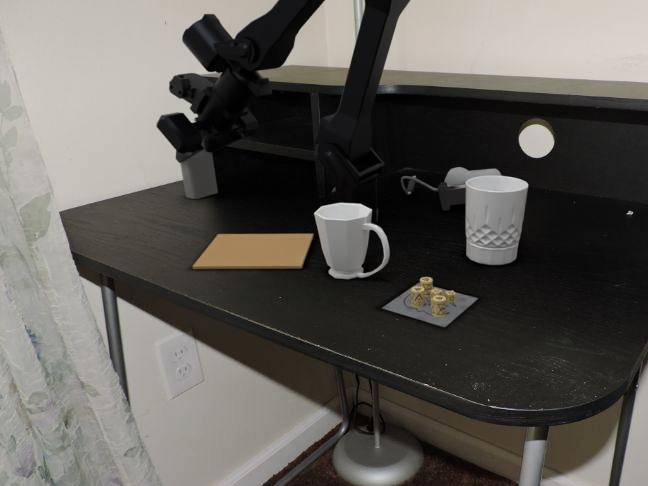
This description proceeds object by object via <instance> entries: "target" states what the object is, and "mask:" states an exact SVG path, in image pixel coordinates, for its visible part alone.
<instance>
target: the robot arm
mask: <svg viewBox="0 0 648 486" xmlns="http://www.w3.org/2000/svg"><path fill="white" fill-rule="evenodd" d="M325 1H326V0H277V1H276V2H275V4H274V5H273V7H272V8H271V9H269V10H268V11H267V12H265V13H264V14H262V15H261V16H259V17H257V18H255V19H254V20H251V21H250V22H249V23H248V24H247V25H245V26H244V27H243V28H242V29H241V30H239V31H238V32H237V33H236V35H235V37H234V38H233V37H232V35H231V34H230V33H229V32H228V31H227V29H226V28H225V27H224V26H223V25H222V23H221V21H220V20H219V18H218V16H217V15H216V14H215V13H204V14H203V16H202V18H200V19H198V20H196V21H194V23H192V24H191V25H190V26H189V27H188V28H185V30H184V31H183V34H182V35H181V36H182V38H181V40H182V43H183V45H184V46H185V47H186V48H187V49H188V50H189V52H190V53H191V54H192V55H193V56H194V58H195V59H196V60H197V61H198V62H199V64H200V65H201V66H202V67H203V68H204V69H205V71H206V72H207V73H216V74H220V75H219V77H218V78H217V80H216V81H215V83H213V82H211V81H210V80H209V79H207V78H205V77H203V76H202V75H200V74H199V73H197V72H196V73H195V72H187V73H178V74H175V75H174V76H172V78H171V80H169V81H168V84H169V86H168V91H169V93H170V94H172V95H173V96H174V97H176V98H177V99H179V100H184V102H185V101H186V102H187V103H188V104H190V107H189V110H190V111H191V112H192V113H193V114H194V115H197V117H194V118H193V120H194V122H191V120H190V119H189V118H188V117H187V115H186V114H185V113H184V112H176V111H175V112H171V113H167V114H166V113H165V114H161V115H160V116H159V118H158V120H157V122H156V125H155V127H156V128H157V129H158V131H159V132H160V133H161V134H162V135H163V137H164V138H165V139H166V140H167V141H168V142H169V143H170V145H171V146H172V147H173V149H174V150H175V160H176V161H177V162H178V163H179V164H180V163H181V162H183V161H185V160H187V159H189V158H190V157H192V156H194V155H195V154H197V153H199V152H200V151H202V150H204V147H203V146H202V145H201V144H202V141H203V140H204V142H205V149H206V152H211V153H212V154H213V153H214V152H217V151H219V150H221V149H223V148H224V147H227V146H230V145H231V144H233V143H236V142H238V141H241V140H242V138H243V137H244V138H247V137H250V136H253V135H255V133H256V132H257V131H258V129H259V121H258V119H257V118H256V117H255V116H254V114H252V112H251V111H250V110H249V108H247V106H248V105H249V104H250V102H251V101H252V99H253V97H256V98H258V99H259V98H264V97H268V96H272V95H273V91H272V90H273V89H272V87H271V84H270V78H269V77H264V76H262V74H261V73H260V72H259V71H268V70H276V69H278V68H279V69H280V68H281V67H282V66H284V64H285V63H286V61H287V59H288V58H289V56H290V54H291V53H292V51H293V49H294V47H295V42H296V37H297V35H298V33H299V32H300V30H301V29H302V28H303V27H304V26H305V25H306V23H307V22H308V21H309V20H310V19H311V18H312V16H313V15H315V13H316V11H318V9H320V7H321V6H322V5H323V4H324V3H325ZM410 2H411V0H364V9H363V13H362V16H361V21H360V25H359V28H358V32H357V36H356V40H355V44H354V48H353V52H352V56H351V59H350V62H349V67H348V71H347V73H346V74H347V75H346V78H345V82H344V86H343V90H342V94H341V98H340V102H339V106H338V109H337V111H336V112H334V114H330V115H327V116H322V117H321V118H320V121H319V125H318V135H317V136H316V138H315V140H314V141H313V145H317V146H316V158H317V159H318V161H319V163H320V165H321V166H322V168H323V171H324V173H325V176H326V179H327V181H328V184H329V186H333V189H332V191H331V199H332V200H331V201H332V204H336V203H353V204H362V205H364V206H366V207H368V208H370V209H372V216H371V224H374V225H377V224H378V221H379V208H378V188H377V186H378V185H377V183H378V182H377V180H378V179H377V178H378V177H381V176H382V175H383V171H384V168H385V162H384V160H382V158H381V157H380V156H379V155H378V154H377V152H375V150H374V149H373V148H372V147H371V146H372V139H373V129H372V122H371V114H372V110H373V107H374V104H375V103H374V102H375V99H376V96H377V93H378V89H379V87H380V86H379V85H380V83H381V79H382V76H383V72H384V69H385V66H386V63H387V58H388V55H389V52H390V48H391V46H392V45H391V44H392V41H393V38H394V34H395V32H396V29H397V28H396V27H397V25H398V21H399V18H400V16H401V14H402V13H403V12H404V10H405V9H406V7H407V6H408V4H409V3H410ZM239 126H241V128H242V129H243V130H242V131H241V133H240V132H239V130H240V129H239Z"/></svg>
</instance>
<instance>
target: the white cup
mask: <svg viewBox="0 0 648 486" xmlns="http://www.w3.org/2000/svg"><path fill="white" fill-rule="evenodd" d="M528 190H529V184H528V182H527V181H525V180H523V179H520V178H517V177H512V176H507V175H506V176H505V175H501V176H479V177H474V178H471V179H469V180H467V181H466V203H465V217H464V219H465V220H464V221H465V237H466V247H465V248H466V249H465V251H466V254H465V255H466V257H467V258H468V259H469V260H470V261H472V262H475V263H477V264H481V265H488V266H502V265H508V264H511V263H513V262H514V261H515V260H517V255H518V250H519V249H518V248H519V242H520V239H521V236H522V235H521V234H522V229H523V223H524V218H525V211H526V204H527V198H528Z"/></svg>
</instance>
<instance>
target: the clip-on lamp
mask: <svg viewBox="0 0 648 486" xmlns="http://www.w3.org/2000/svg"><path fill="white" fill-rule="evenodd" d="M479 176H502V174H501V172H500V171H499V170H498V169H497V168H487V169H486V168H485V169H474V170H468V169H466V168H465V167H462V166H457V167H453V168H450V169H449V171H448V172H447V174H446V176H445V179H444V182H440V183H439V185H438V186H437V188H435V187H433V186H431V185H429V184H427V183H426V182H423V181H421V180H420V179H417V176H416V175H413V176H407V175H404V176H402V177H401V179H400V184H401V187H402V190H403V191H404V193H405V194H406V195H408V196H409V195H411V194H413V193H414V190H415V186H416V183H418V184H419V185H422V186H424V187H426V188H427V189H429V190H431V191H434V192H438V196H439V201H440V205H441V209H442V211H443V212H446V211H450V210H451V206H454V205H456V206H457V205H463V204H466V181H467V180H469V179H471V178H474V177H479ZM405 179H408V180H409V181H408V185H407V188H406V187H405V184H404V180H405Z"/></svg>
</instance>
